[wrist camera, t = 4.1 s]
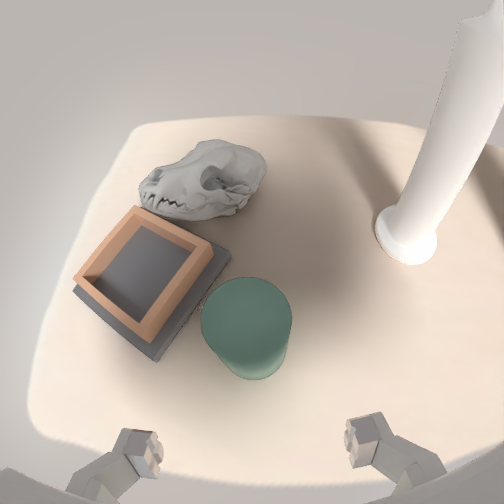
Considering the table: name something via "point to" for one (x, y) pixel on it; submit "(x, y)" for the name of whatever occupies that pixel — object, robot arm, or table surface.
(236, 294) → the green cylinder
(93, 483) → the robot arm
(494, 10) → the candle
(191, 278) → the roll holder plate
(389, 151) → the table surface
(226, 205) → the skull
